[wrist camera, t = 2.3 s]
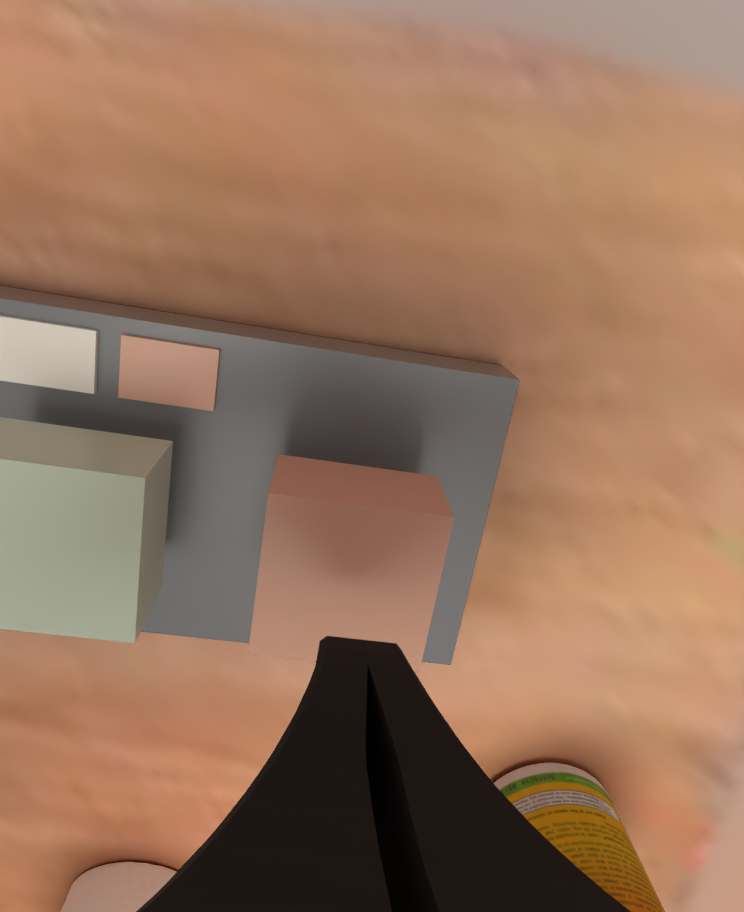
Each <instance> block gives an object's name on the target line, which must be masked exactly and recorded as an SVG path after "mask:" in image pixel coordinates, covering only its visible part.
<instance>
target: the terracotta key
mask: <svg viewBox="0 0 744 912" xmlns="http://www.w3.org/2000/svg"><path fill="white" fill-rule="evenodd" d="M453 521H454V515H453V513H452V511H451V508H450V506H449V503H448V501H447V499H446V496H445V494H444V492H443V489H442V487H441V484H440V482H439V480H438V477H437V476H432V475H425V474H417V473H410V472H403V471H396V470H389V469H381V468H374V467H367V466H360V465H353V464H345V463H338V462H331V461H324V460H317V459H310V458H302V457H295V456H288V455H281V454H278V455H277V459H276V464H275V468H274V472H273V476H272V480H271V484H270V488H269V492H268V500H267V508H266V515H265V523H264V531H263V539H262V547H261V555H260V563H259V571H258V579H257V586H256V594H255V602H254V610H253V618H252V626H251V634H250V642H249V649H248V654H254V655H264V656H273V657H283V658H292V659H301V660H311V661H316V660H317V654H318V648H319V642H320V640H322V639H323V638H325V637H326V636H334V637H343V638H352V639H361V640H370V641H379V642H388V643H397V645H398V646H399V647H400V649H401V650H402V652H403V653H404V655H405V657H406V659H407V660H408V662H409V664H410V665H411V667H412V669H413V671H414V672H420V667H421V663H422V658H423V654H424V650H425V645H426V641H427V636H428V632H429V627H430V623H431V619H432V614H433V610H434V605H435V601H436V596H437V592H438V588H439V583H440V579H441V574H442V570H443V565H444V561H445V557H446V552H447V548H448V543H449V539H450V534H451V530H452V526H453Z"/></svg>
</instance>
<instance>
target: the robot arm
mask: <svg viewBox="0 0 744 912" xmlns="http://www.w3.org/2000/svg"><path fill="white" fill-rule="evenodd" d="M136 912H631V911H630V910H628V909H627V908H626V907H625V906H623V905H622V904H621V903H620V902H618V901H617V900H616V899H615V898H613V897H612V896H611V895H609V894H608V893H607V892H606V891H604V890H603V889H602V888H601V887H600V886H599V885H597V884H596V883H595V882H594V881H593V880H592V879H590V878H589V877H588V876H587V875H586V874H584V873H583V872H582V871H581V870H580V869H579V868H578V867H576V866H575V865H574V864H573V863H572V862H571V861H570V860H569V859H568V858H567V857H566V856H564V855H563V854H562V853H561V852H560V851H559V850H558V849H557V848H556V847H555V846H554V845H553V844H551V843H550V842H549V841H548V840H547V839H546V838H545V837H544V836H543V835H542V834H541V833H540V832H539V831H538V830H537V829H536V828H535V827H534V826H533V825H532V824H531V823H530V822H529V821H528V820H527V819H526V818H525V817H524V816H523V815H522V814H521V813H520V812H519V811H518V810H517V809H516V807H515V806H514V805H513V804H512V803H511V802H510V801H509V800H508V799H507V798H506V797H505V796H504V794H503V793H502V792H501V791H500V790H499V789H498V788H497V787H496V786H495V785H494V783H493V782H492V781H491V780H490V779H489V778H488V776H487V775H486V774H485V773H484V772H483V770H482V769H481V768H480V766H479V765H478V764H477V763H476V761H475V760H474V759H473V758H472V756H471V755H470V754H469V752H468V751H467V750H466V748H465V747H464V746H463V744H462V743H461V742H460V740H459V739H458V738H457V736H456V735H455V733H454V732H453V731H452V729H451V728H450V726H449V725H448V723H447V722H446V720H445V719H444V717H443V716H442V715H441V713H440V712H439V710H438V709H437V707H436V706H435V704H434V703H433V701H432V700H431V698H430V697H429V695H428V693H427V692H426V690H425V689H424V687H423V685H422V684H421V682H420V681H419V679H418V677H417V676H416V674H415V672H414V671H413V669H412V667H411V665H410V664H409V662H408V660H407V659H406V657H405V655H404V653H403V652H402V650H401V649H400V647H399V646H398V645H397V643H388V642H379V641H370V640H361V639H352V638H343V637H334V636H326V637H325V638H323V639H322V640H320V642H319V648H318V654H317V660H316V666H315V669H314V672H313V675H312V677H311V680H310V683H309V685H308V687H307V689H306V691H305V694H304V696H303V698H302V700H301V702H300V704H299V707H298V709H297V711H296V713H295V715H294V717H293V718H292V720H291V722H290V724H289V725H288V727H287V729H286V731H285V732H284V734H283V736H282V738H281V739H280V741H279V743H278V745H277V746H276V748H275V750H274V751H273V753H272V754H271V756H270V758H269V759H268V761H267V762H266V764H265V765H264V767H263V768H262V770H261V771H260V773H259V774H258V776H257V777H256V778H255V780H254V781H253V783H252V784H251V785H250V787H249V788H248V790H247V791H246V792H245V794H244V795H243V796H242V798H241V799H240V800H239V801H238V803H237V804H236V805H235V806H234V808H233V809H232V810H231V812H230V813H229V814H228V815H227V817H226V818H225V819H224V820H223V822H222V823H221V824H220V825H219V826H218V828H217V829H216V830H215V831H214V832H213V834H212V835H211V836H210V837H209V838H208V839H207V840H206V842H205V843H204V844H203V845H202V846H201V847H200V848H199V849H198V850H197V851H196V852H195V853H194V854H193V855H192V857H191V858H190V859H189V860H188V861H187V862H186V863H185V864H184V865H183V866H182V867H181V868H180V869H179V870H178V871H177V872H176V873H175V875H174V876H173V877H172V878H171V879H170V880H169V881H168V882H167V883H166V884H165V885H164V886H163V887H162V888H161V889H160V890H159V891H158V892H157V893H156V894H155V895H154V896H153V897H152V898H151V899H150V900H149V901H147V902H146V903H145V904H144V905H143V906H142V907H141V908H140V909H139V910H137V911H136Z"/></svg>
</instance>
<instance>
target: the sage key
mask: <svg viewBox="0 0 744 912" xmlns="http://www.w3.org/2000/svg"><path fill="white" fill-rule="evenodd" d="M172 448H173V441H169V440H162V439H155V438H147V437H140V436H133V435H126V434H119V433H111V432H104V431H97V430H90V429H83V428H75V427H68V426H61V425H54V424H47V423H39V422H32V421H25V420H18V419H11V418H3V417H0V629H5V630H14V631H24V632H33V633H43V634H52V635H61V636H71V637H80V638H90V639H99V640H109V641H118V642H127V643H135V642H136V640H137V638H138V635H139V633H140V631H141V629H142V627H143V625H144V623H145V621H146V619H147V617H148V615H149V612H150V610H151V608H152V606H153V604H154V602H155V600H156V598H157V596H158V594H159V592H160V589H161V587H162V581H163V567H164V554H165V541H166V528H167V514H168V501H169V488H170V475H171V462H172Z"/></svg>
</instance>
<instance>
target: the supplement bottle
mask: <svg viewBox="0 0 744 912" xmlns="http://www.w3.org/2000/svg"><path fill="white" fill-rule="evenodd" d="M494 785H495V786H496V787H497V788H498V789H499V790H500V791H501V792H502V793H503V794H504V796H505V797H506V798H507V799H508V800H509V801H510V802H511V803H512V804H513V805H514V806H515V807H516V809H517V810H518V811H519V812H520V813H521V814H522V815H523V816H524V817H525V818H526V819H527V820H528V821H529V822H530V823H531V824H532V825H533V826H534V827H535V828H536V829H537V830H538V831H539V832H540V833H541V834H542V835H543V836H544V837H545V838H546V839H547V840H548V841H549V842H550V843H551V844H553V845H554V846H555V847H556V848H557V849H558V850H559V851H560V852H561V853H562V854H563V855H564V856H566V857H567V858H568V859H569V860H570V861H571V862H572V863H573V864H574V865H575V866H576V867H578V868H579V869H580V870H581V871H582V872H583V873H584V874H586V875H587V876H588V877H589V878H590V879H592V880H593V881H594V882H595V883H596V884H597V885H599V886H600V887H601V888H602V889H603V890H604V891H606V892H607V893H608V894H609V895H611V896H612V897H613V898H615V899H616V900H617V901H618V902H620V903H621V904H622V905H623V906H625V907H626V908H627V909H628V910H630V911H631V912H665V911H664V908H663V906H662V904H661V902H660V900H659V898H658V896H657V894H656V892H655V890H654V888H653V886H652V884H651V882H650V879H649V877H648V875H647V873H646V871H645V869H644V867H643V865H642V863H641V861H640V859H639V857H638V855H637V852H636V850H635V848H634V846H633V844H632V842H631V840H630V838H629V836H628V834H627V832H626V830H625V828H624V826H623V823H622V821H621V819H620V817H619V815H618V813H617V811H616V809H615V807H614V805H613V803H612V801H611V799H610V797H609V795H608V793H607V792H606V790H605V789H604V787H603V786H602V785H601V784H600V783H599V782H598V781H597V780H596V779H595V778H594V777H593V776H591V775H590V774H588V773H587V772H585V771H583V770H581V769H579V768H576V767H573V766H570V765H566V764H561V763H538V764H533V765H528V766H524V767H521V768H518V769H516V770H514V771H511V772H509V773H507V774H506V775H504V776H503V777H501V778H500V779H498V780H497V781H495V782H494Z"/></svg>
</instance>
